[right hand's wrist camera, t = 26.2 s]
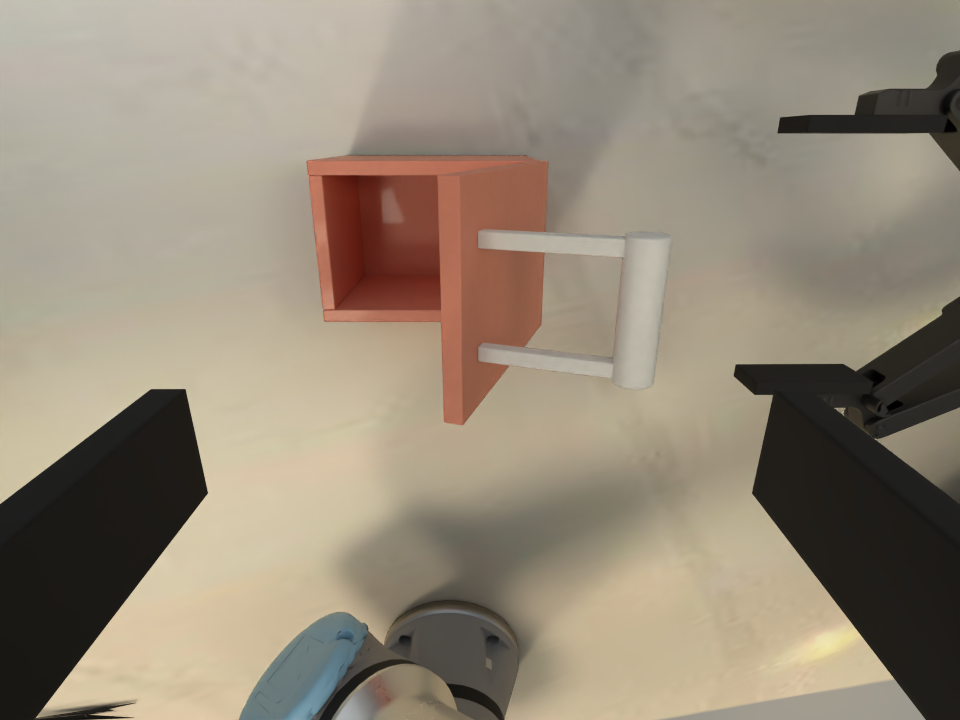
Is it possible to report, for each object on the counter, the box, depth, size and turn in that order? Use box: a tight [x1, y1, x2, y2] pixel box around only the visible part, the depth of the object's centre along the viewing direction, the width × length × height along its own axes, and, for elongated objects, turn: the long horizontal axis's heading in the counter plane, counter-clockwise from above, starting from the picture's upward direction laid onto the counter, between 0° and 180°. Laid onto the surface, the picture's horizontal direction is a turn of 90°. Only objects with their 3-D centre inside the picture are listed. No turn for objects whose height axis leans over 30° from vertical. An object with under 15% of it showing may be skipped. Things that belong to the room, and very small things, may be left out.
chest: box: [307, 155, 539, 322], centre depth 40 cm, size 14×10×11 cm
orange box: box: [437, 161, 672, 425], centre depth 27 cm, size 15×10×8 cm
